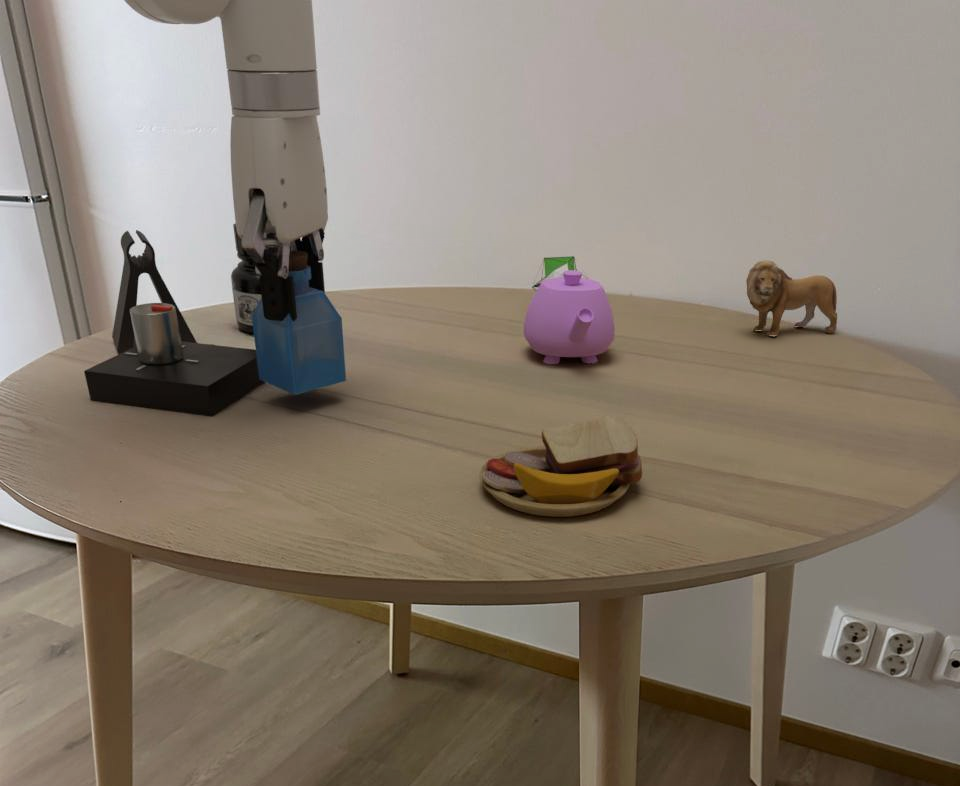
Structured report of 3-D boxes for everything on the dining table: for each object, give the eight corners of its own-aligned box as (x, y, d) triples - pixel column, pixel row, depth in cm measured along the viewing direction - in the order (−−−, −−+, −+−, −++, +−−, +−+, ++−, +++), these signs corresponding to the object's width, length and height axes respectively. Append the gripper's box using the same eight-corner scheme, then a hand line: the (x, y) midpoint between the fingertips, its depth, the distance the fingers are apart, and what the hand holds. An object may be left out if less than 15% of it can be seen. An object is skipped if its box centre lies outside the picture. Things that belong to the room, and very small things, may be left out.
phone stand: (189, 332, 114) (172, 227, 107) (197, 346, 109) (180, 237, 102) (112, 340, 111) (90, 232, 104) (117, 354, 106) (94, 242, 99)
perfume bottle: (309, 366, 97) (298, 244, 90) (346, 381, 93) (337, 254, 86) (259, 379, 93) (244, 253, 86) (295, 394, 90) (282, 264, 83)
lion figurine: (752, 344, 113) (766, 266, 108) (727, 332, 117) (739, 257, 112) (848, 332, 117) (866, 257, 112) (820, 321, 121) (836, 248, 116)
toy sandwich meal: (477, 458, 83) (478, 407, 80) (628, 459, 83) (633, 408, 80) (480, 522, 72) (481, 465, 69) (652, 522, 72) (659, 466, 70)
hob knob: (130, 362, 94) (119, 308, 91) (155, 349, 98) (145, 298, 95) (168, 366, 93) (158, 312, 90) (191, 354, 97) (183, 301, 94)
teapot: (598, 338, 114) (605, 258, 109) (627, 377, 102) (636, 289, 96) (515, 339, 113) (518, 258, 108) (534, 379, 101) (538, 290, 95)
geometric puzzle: (524, 283, 128) (536, 241, 120) (571, 281, 129) (586, 239, 122) (535, 326, 125) (548, 286, 118) (582, 323, 127) (598, 283, 119)
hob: (90, 400, 94) (83, 369, 92) (157, 365, 103) (152, 336, 101) (212, 416, 90) (207, 384, 89) (270, 378, 100) (267, 349, 98)
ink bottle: (220, 328, 115) (205, 225, 108) (269, 313, 121) (257, 214, 115) (279, 341, 111) (267, 234, 104) (326, 324, 117) (318, 222, 111)
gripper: (281, 88, 87) (300, 288, 97) (181, 100, 73) (215, 331, 83) (355, 90, 85) (366, 294, 95) (266, 104, 72) (290, 340, 82)
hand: (295, 309), depth 89 cm, fingers closed on perfume bottle, 5 cm apart
